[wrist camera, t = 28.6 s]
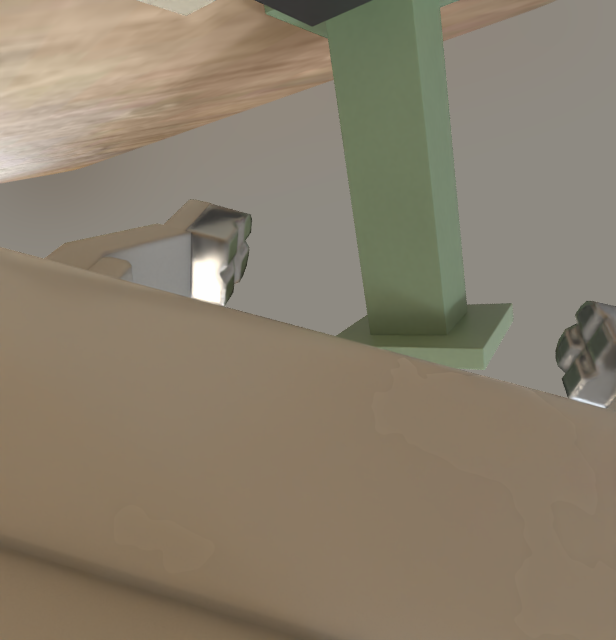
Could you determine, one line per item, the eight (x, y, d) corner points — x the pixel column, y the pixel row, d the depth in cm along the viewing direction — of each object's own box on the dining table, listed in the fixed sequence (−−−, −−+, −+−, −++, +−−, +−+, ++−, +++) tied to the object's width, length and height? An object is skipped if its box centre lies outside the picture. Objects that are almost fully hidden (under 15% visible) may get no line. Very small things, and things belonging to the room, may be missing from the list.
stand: (260, -12, 31) (324, 363, 37) (445, -105, 24) (485, 370, 30) (339, 25, 39) (380, 321, 46) (489, -36, 33) (513, 320, 39)
